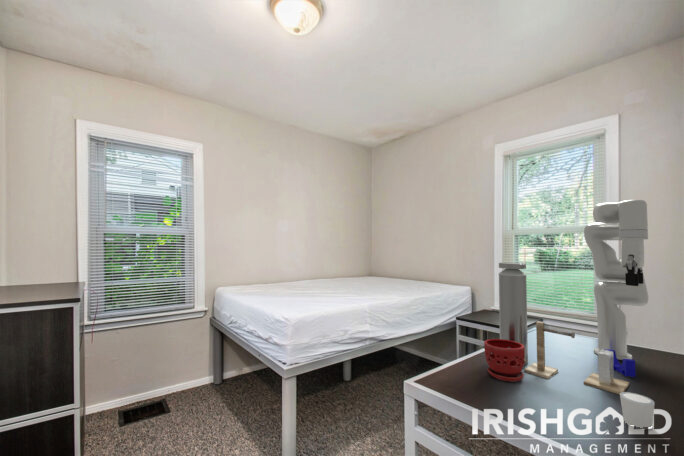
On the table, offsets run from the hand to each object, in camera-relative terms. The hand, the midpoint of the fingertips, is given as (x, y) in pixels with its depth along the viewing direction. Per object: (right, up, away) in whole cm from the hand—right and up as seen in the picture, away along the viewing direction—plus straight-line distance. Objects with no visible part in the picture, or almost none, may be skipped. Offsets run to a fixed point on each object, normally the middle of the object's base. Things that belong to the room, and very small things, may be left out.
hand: (634, 284), depth 109 cm
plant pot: (-43, -35, +5) cm, 55 cm away
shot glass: (-22, -33, -25) cm, 47 cm away
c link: (-11, -33, -1) cm, 35 cm away
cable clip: (+4, -35, +11) cm, 37 cm away
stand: (-25, -34, +6) cm, 43 cm away
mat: (-11, -34, -1) cm, 36 cm away
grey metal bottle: (-31, -35, +19) cm, 51 cm away
